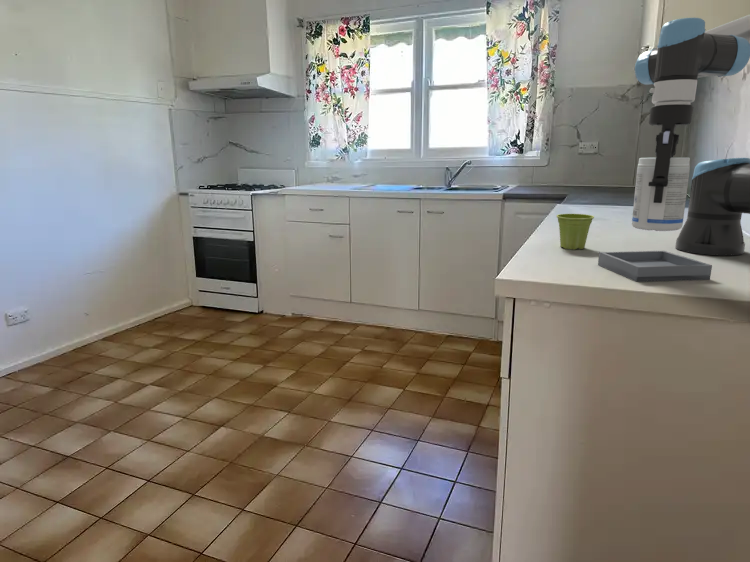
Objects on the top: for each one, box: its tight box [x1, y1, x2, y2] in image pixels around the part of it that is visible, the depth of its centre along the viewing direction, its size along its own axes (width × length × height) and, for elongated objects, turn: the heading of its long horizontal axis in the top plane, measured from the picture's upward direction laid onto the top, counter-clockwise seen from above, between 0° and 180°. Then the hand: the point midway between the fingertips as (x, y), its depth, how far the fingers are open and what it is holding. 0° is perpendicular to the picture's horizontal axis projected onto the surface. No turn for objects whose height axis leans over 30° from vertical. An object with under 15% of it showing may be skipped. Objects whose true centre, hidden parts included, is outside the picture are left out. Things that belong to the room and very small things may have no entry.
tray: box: [597, 250, 713, 283], centre depth 111 cm, size 16×16×3 cm
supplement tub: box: [631, 156, 691, 232], centre depth 107 cm, size 10×10×15 cm
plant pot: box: [556, 213, 595, 250], centre depth 138 cm, size 9×9×9 cm
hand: (657, 216), depth 109 cm, fingers closed on supplement tub, 9 cm apart
